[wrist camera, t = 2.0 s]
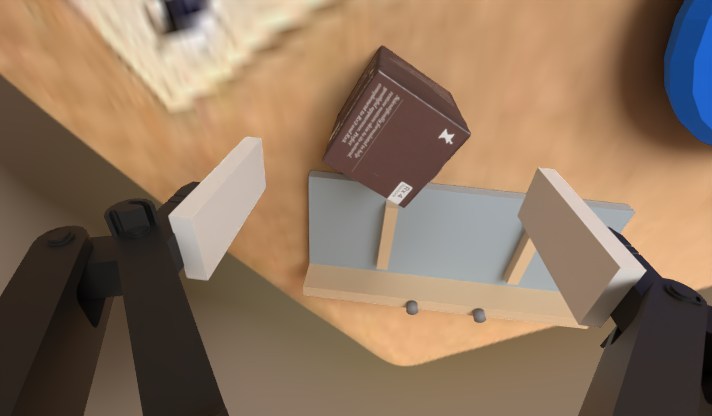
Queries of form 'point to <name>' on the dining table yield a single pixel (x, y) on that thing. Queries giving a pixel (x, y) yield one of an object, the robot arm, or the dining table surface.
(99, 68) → the dining table surface
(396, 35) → the dining table surface
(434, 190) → the board
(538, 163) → the dining table surface
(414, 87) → the box
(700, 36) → the blue knobbed lid
